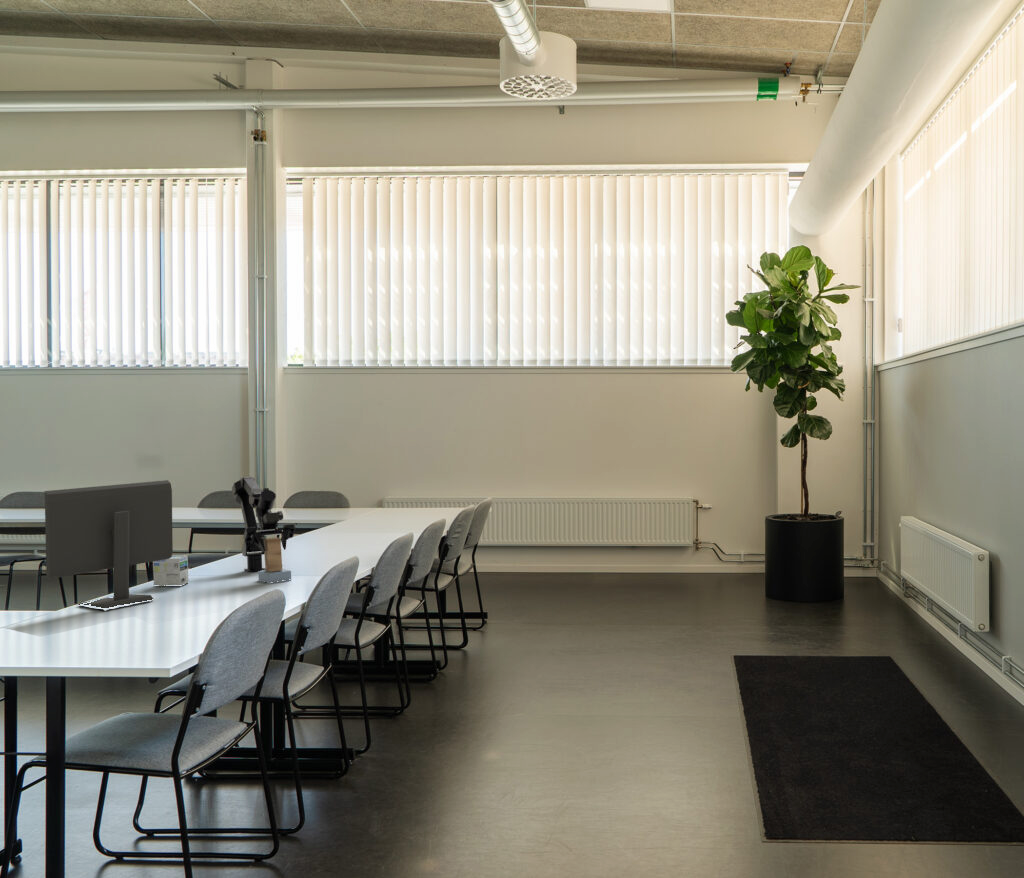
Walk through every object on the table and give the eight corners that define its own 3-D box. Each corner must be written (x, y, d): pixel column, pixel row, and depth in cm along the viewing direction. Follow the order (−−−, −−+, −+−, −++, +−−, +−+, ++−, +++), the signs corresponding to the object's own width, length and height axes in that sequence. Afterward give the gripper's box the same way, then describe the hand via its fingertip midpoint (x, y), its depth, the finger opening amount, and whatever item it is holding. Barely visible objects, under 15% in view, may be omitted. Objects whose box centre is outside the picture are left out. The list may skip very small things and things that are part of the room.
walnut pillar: (265, 570, 340) (263, 538, 340) (278, 569, 342) (276, 537, 343) (269, 571, 335) (267, 539, 336) (282, 570, 338) (280, 538, 338)
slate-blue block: (258, 581, 340) (258, 571, 340) (280, 578, 345) (280, 567, 345) (268, 584, 333) (268, 574, 333) (291, 581, 338) (291, 570, 338)
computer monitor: (159, 590, 325) (155, 479, 324) (187, 594, 316) (182, 480, 314) (38, 614, 290) (32, 490, 288) (64, 620, 280) (59, 491, 279)
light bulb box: (189, 583, 337) (188, 555, 337) (181, 587, 330) (179, 558, 330) (162, 583, 338) (160, 555, 338) (153, 587, 331) (151, 558, 331)
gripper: (244, 506, 337) (253, 539, 327) (293, 502, 346) (303, 534, 337) (239, 525, 343) (248, 557, 334) (287, 521, 353) (297, 552, 344)
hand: (275, 550), depth 337 cm, fingers open, 7 cm apart
